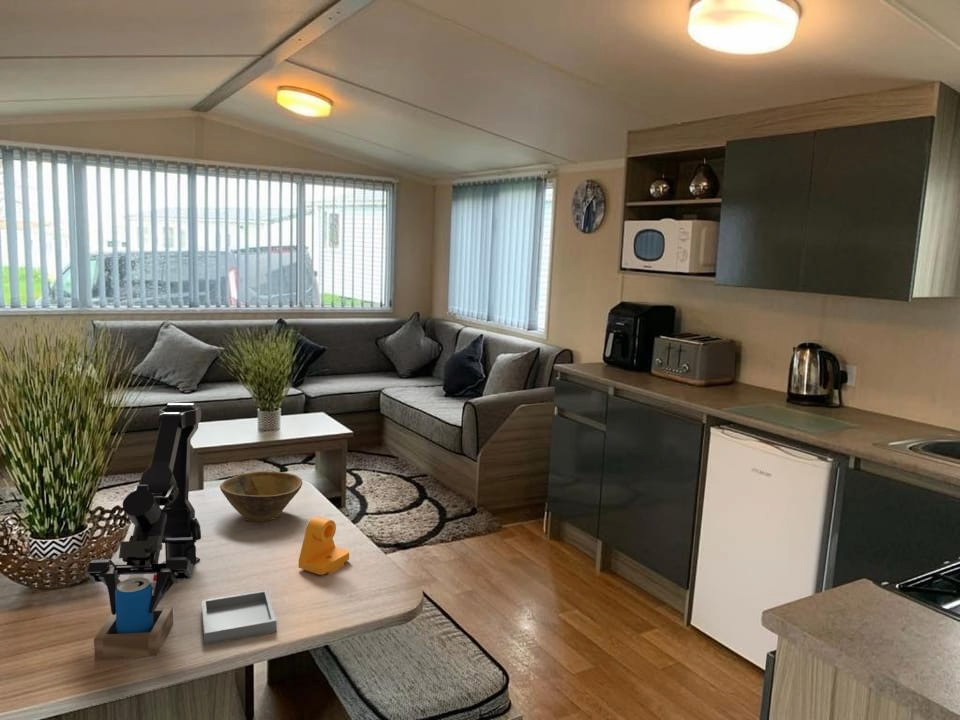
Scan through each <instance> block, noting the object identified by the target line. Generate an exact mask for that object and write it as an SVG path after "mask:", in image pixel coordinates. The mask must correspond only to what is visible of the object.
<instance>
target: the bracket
mask: <svg viewBox="0 0 960 720" xmlns="http://www.w3.org/2000/svg"><path fill="white" fill-rule="evenodd" d="M336 530H337V524H336V522H335V521H334V520H332V519H329V518H325V517H321V516H318V515H315V516H313V517H311V518H310V519H309V521H308V523H307V525H306V529H305V533H304V537H303V541H302V544H301V545H302V546H301V549H300V553H299V557H298V569H301V570H305V571H307V572H310V573H314V574H317V575H325V574H327V575H330V574H332V573H334V572H335V571H337V570H338V569H340V568H342V567H344V566H345V562H346V563H347V562H348V561H349V560H350V551H349V550H347V549H343V548H340V547H339V546H336V545H335V541H334V539H333V538H334V537H335V534H336V532H337V531H336Z"/></svg>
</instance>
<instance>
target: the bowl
mask: <svg viewBox="0 0 960 720" xmlns="http://www.w3.org/2000/svg"><path fill="white" fill-rule="evenodd" d="M302 486H303V479H302V478H301V477H300V476H298V475H296V474H294V473H289V472H283V471H274V470H273V471H272V470H271V471H269V470H263V471H262V470H261V471H251V472H247V473H246V472H245V473H241V474H238V475H235V476H232V477H230V478H228V479H227V478H226V479H225V480H224V481H223V482H222V483H220V484H219V488H220V491H221V492H222V494H223V496H224V497H225V498H226V499H227V501H228V502H229V504H230V505H231V506H232V507H233V508H234V509H235V510H236V512H237V513H239V514H240V515H241V517H242V518H243V519H244V520H246V521H249V522H257V523H258V522H266V521H271V520H274V519H276V518H277V517H278V516H279V515H280V514H281V513H282V512H283V510H284V509H285V508H286V507H287V506H288V505H289V503H290V502H291V501H292V500H293V498H294V497H295V496H296V495H297V494H298V493H299V491H300V490H301V488H302Z"/></svg>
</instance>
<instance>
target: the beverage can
mask: <svg viewBox="0 0 960 720" xmlns="http://www.w3.org/2000/svg"><path fill="white" fill-rule="evenodd" d="M152 596H153V588H152V585H151V584H150V583H149V580H148V579H147V578H144V577H134V578H129V579H126V580H124V581H122V582H120V583H119V584H118V585H117V589H116V591H115V606H116V626H117V634H126V633H147V632H151V631H152V629H153V627H154V620H153V613H150V612H149V611H150V604H151V600H152Z"/></svg>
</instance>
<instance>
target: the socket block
mask: <svg viewBox="0 0 960 720" xmlns="http://www.w3.org/2000/svg"><path fill="white" fill-rule="evenodd" d="M173 608H174V606H172V605H171V606H170V605H169V606H157V607H156V609H155V610H154V612H153V620H154V627H153V629H152V631H151V632H147V633H126V634H117V626H116V614H115V615H113V614H112V613H111V614H110V616H109V617H108V618H107V620H106V621H105V622H104V624H103V626H102V627H101V629H100V630H99V631H98V633H97V634H96V635H95V637H94V638H93V646H94V648H93V649H94V659H95V660H98V659H99V660H100V659H102V660H103V659H118V658H119V659H120V658H122V659H123V658H137V657H138V658H139V657H158V656H159V653H160V651H161V650H162V647H163V645H164V644H165V642H166V639H167V638H168V635H169V634H170V632H171V630H172V629H173V626H174V609H173Z"/></svg>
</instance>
